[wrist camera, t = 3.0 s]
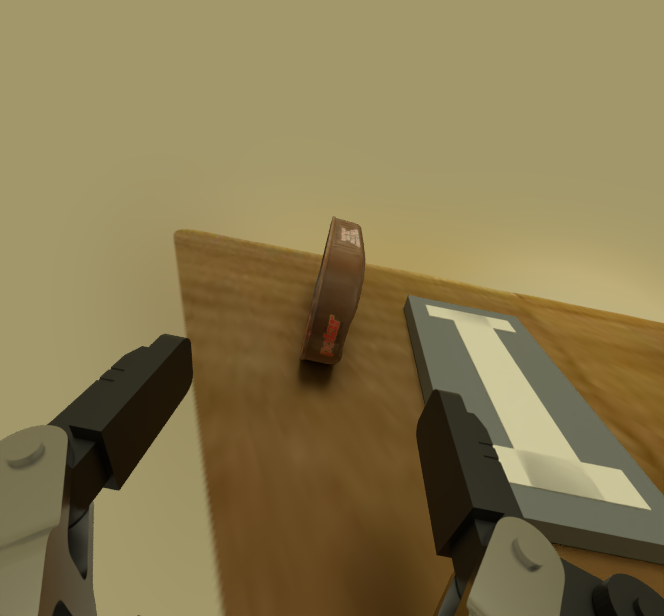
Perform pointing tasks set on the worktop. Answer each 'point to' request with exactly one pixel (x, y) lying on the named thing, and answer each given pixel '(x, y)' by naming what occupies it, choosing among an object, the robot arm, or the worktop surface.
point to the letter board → (539, 431)
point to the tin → (335, 293)
